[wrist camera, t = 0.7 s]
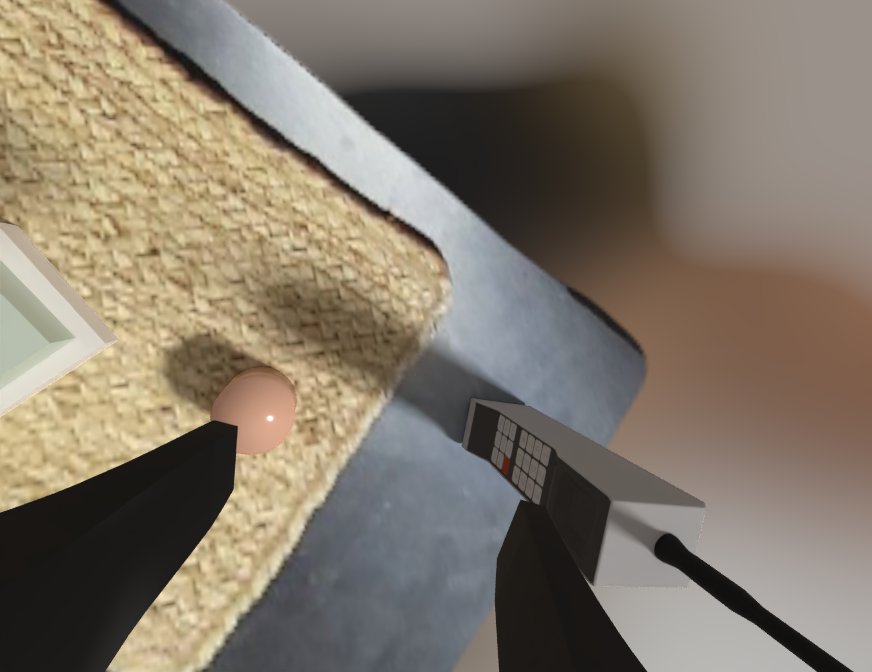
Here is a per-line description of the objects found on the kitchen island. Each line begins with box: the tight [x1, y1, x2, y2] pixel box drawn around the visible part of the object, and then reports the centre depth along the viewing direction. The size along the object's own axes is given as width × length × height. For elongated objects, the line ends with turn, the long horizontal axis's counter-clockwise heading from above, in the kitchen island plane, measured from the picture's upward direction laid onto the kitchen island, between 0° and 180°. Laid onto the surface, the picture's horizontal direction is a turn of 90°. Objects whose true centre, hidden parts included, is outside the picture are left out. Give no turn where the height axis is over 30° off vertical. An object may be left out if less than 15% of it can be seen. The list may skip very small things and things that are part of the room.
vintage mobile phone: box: [462, 398, 853, 672], centre depth 22 cm, size 4×5×25 cm
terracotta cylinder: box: [210, 367, 297, 455], centre depth 28 cm, size 4×4×4 cm
